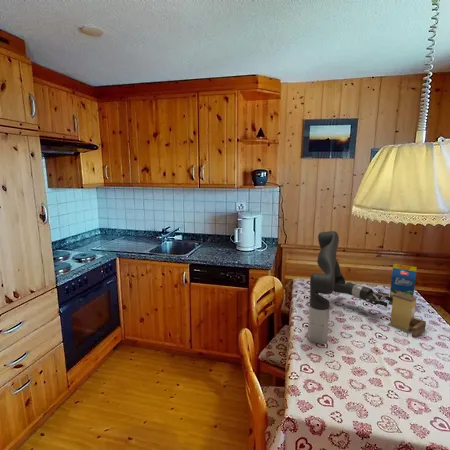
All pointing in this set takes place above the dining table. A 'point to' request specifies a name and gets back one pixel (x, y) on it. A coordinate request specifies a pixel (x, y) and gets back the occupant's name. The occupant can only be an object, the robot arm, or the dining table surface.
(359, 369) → the dining table surface
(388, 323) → the mat
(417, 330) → the corner arena
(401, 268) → the blue food package
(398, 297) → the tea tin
